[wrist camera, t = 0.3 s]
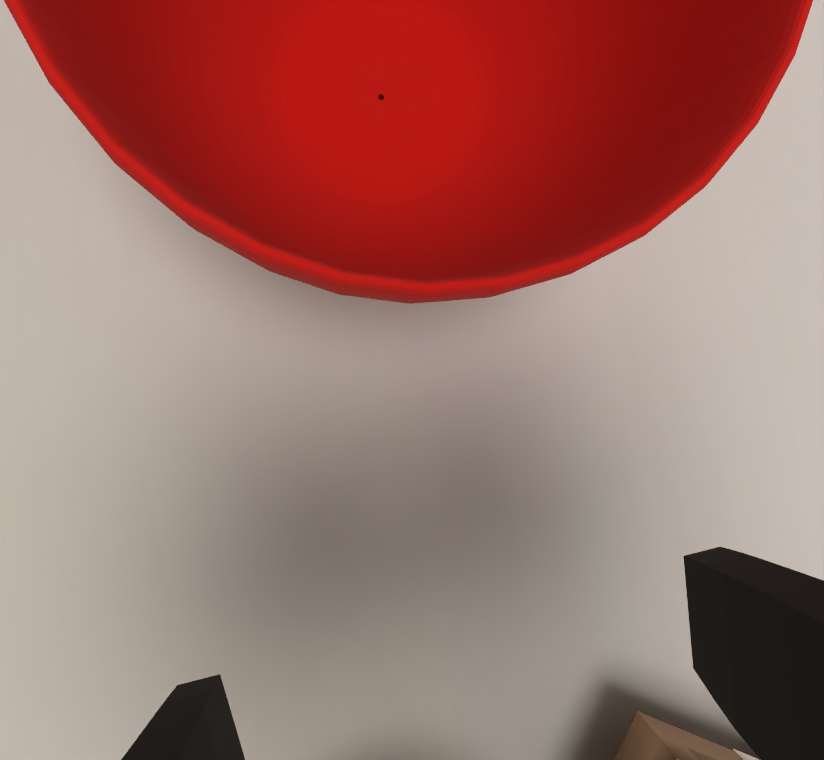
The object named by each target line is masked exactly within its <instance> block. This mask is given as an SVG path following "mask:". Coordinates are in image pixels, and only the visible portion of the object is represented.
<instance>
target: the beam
mask: <svg viewBox="0 0 824 760" xmlns="http://www.w3.org/2000/svg"><path fill="white" fill-rule="evenodd" d="M614 760H759V759H757V758H755V757H752V756H750V755H747V754H745V753H743V752H740V751H738V750H735V749H733V750H730V749H728V748H726V747H723V746H721V745H718V744H716V743H714V742H711V741H709V740H706V739H704V738H701V737H699V736H697V735H694V734H692V733H689V732H687V731H685V730H682V729H680V728H677V727H675V726H672V725H670V724H668V723H665V722H663V721H660V720H658V719H656V718H653V717H651V716H648V715H646V714H643V713H641V712H639V711H637V713H636V715H635V717H634V719H633V721H632V723H631V725H630V727H629V730H628V732H627V734H626V736H625V738H624V740H623V742H622V744H621V746H620V749H619V751H618V753H617V755H616V757H615V759H614Z"/></svg>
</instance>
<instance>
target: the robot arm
mask: <svg viewBox="0 0 824 760" xmlns="http://www.w3.org/2000/svg"><path fill="white" fill-rule="evenodd" d="M684 565H685V577H686V588H687V599H688V611H689V622H690V634H691V645H692V657H693V668H694V670H695V671H696V673H697V674H698V676H699V677H700V679H701V680H702V682H703V683H704V685H705V686H706V688H707V689H708V691H709V692H710V694H711V695H712V697H713V698H714V700H715V701H716V703H717V704H718V706H719V707H720V708H721V710H722V711H723V713H724V714H725V716H726V717H727V718H728V720H729V721H730V723H731V724H732V725H733V727H734V728H735V730H736V731H737V732H738V733H739V734H740V736H741V737H742V738H743V739H744V740H745V741H746V743H747V744H748V745H749V746H750V747H751V749H752V750H753V751H754V752H755V753H756V754H757V755H758V757H759V758H760V759H761V760H824V581H823V580H820V579H817V578H814V577H811V576H809V575H806V574H803V573H800V572H797V571H794V570H791V569H789V568H786V567H783V566H780V565H777V564H774V563H771V562H768V561H765V560H762V559H759V558H756V557H753V556H750V555H747V554H744V553H740V552H737V551H734V550H730V549H726V548H722V547H717V548H713V549H710V550H706V551H702V552H698V553H694V554H690V555H686V556H684ZM122 760H245V758H244V755H243V751H242V748H241V744H240V741H239V738H238V734H237V731H236V727H235V724H234V721H233V717H232V714H231V710H230V707H229V704H228V700H227V697H226V693H225V690H224V686H223V683H222V680H221V676H220V675H216V676H212V677H208V678H204V679H200V680H196V681H192V682H189V683H185V684H181V685H177V686H176V688H175V689H174V690H173V692H172V693H171V694H170V695H169V697H168V698H167V699H166V700H165V702H164V703H163V704H162V706H161V707H160V708H159V710H158V711H157V712H156V714H155V715H154V717H153V718H152V719H151V721H150V722H149V723H148V725H147V726H146V727H145V729H144V730H143V731H142V733H141V734H140V735H139V737H138V738H137V740H136V741H135V742H134V744H133V745H132V746H131V748H130V749H129V750H128V752H127V753H126V754H125V756H124V757H123V758H122Z"/></svg>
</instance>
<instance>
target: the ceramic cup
mask: <svg viewBox="0 0 824 760" xmlns="http://www.w3.org/2000/svg"><path fill="white" fill-rule="evenodd" d="M4 1H5V3H6V5H7V7H8V8H9V10H10V12H11V14H12V16H13V18H14V19H15V21H16V23H17V25H18V27H19V29H20V30H21V32H22V34H23V36H24V38H25V39H26V41H27V43H28V45H29V47H30V49H31V50H32V52H33V54H34V56H35V58H36V60H37V61H38V63H39V65H40V67H41V69H42V71H43V72H44V74H45V76H46V78H47V80H48V81H49V83H50V84H51V86H52V87H53V88H54V89H55V91H56V92H57V93H58V94H59V95H60V97H61V98H62V99H63V100H64V102H65V103H66V104H67V105H68V106H69V108H70V109H71V110H72V111H73V113H74V114H75V115H76V116H77V117H78V119H79V120H80V121H81V122H82V124H83V125H84V126H85V127H86V128H87V130H88V131H89V132H90V133H91V135H92V136H93V137H94V138H95V139H96V141H97V142H98V143H99V144H100V146H101V147H102V148H103V149H104V151H105V152H106V153H107V154H108V155H109V157H110V158H111V159H112V160H113V161H114V163H115V164H116V165H117V166H119V167H120V168H121V169H122V170H123V171H125V172H126V173H127V174H128V175H129V176H131V177H132V178H133V179H134V180H135V181H137V182H138V183H139V184H140V185H141V186H143V187H144V188H145V189H146V190H147V191H149V192H150V193H151V194H152V195H153V196H155V197H156V198H157V199H158V200H159V201H161V202H162V203H163V204H164V205H165V206H167V207H168V208H169V209H170V210H171V211H173V212H174V213H175V214H176V215H177V216H179V217H180V218H181V219H182V220H183V221H185V222H186V223H187V224H188V225H189V226H191V227H192V228H194V229H195V230H197V231H199V232H200V233H202V234H204V235H206V236H207V237H209V238H211V239H213V240H215V241H216V242H218V243H220V244H222V245H224V246H225V247H227V248H229V249H231V250H233V251H234V252H236V253H238V254H240V255H242V256H243V257H245V258H247V259H249V260H251V261H252V262H254V263H256V264H258V265H260V266H261V267H263V268H265V269H267V270H269V271H271V272H274V273H277V274H280V275H283V276H286V277H289V278H292V279H295V280H298V281H301V282H304V283H307V284H310V285H313V286H316V287H319V288H322V289H325V290H328V291H331V292H334V293H337V294H340V295H348V296H356V297H364V298H371V299H379V300H387V301H395V302H403V303H422V302H435V301H448V300H461V299H474V298H485V297H492V296H495V295H499V294H502V293H506V292H509V291H513V290H516V289H520V288H523V287H527V286H530V285H534V284H537V283H541V282H544V281H548V280H551V279H555V278H558V277H562V276H565V275H568V274H571V273H573V272H575V271H577V270H579V269H581V268H583V267H585V266H587V265H589V264H591V263H593V262H595V261H596V260H598V259H600V258H602V257H604V256H606V255H608V254H610V253H612V252H614V251H616V250H618V249H620V248H622V247H624V246H625V245H627V244H629V243H631V242H633V241H635V240H637V239H639V238H641V237H643V236H644V235H646V234H647V233H648V232H650V231H651V230H652V229H653V228H655V227H656V226H657V225H658V224H660V223H661V222H662V221H663V220H664V219H666V218H667V217H668V216H669V215H671V214H672V213H673V212H674V211H676V210H677V209H678V208H679V207H681V206H682V205H683V204H684V203H686V202H687V201H688V200H689V199H691V198H692V197H693V196H694V195H696V194H697V193H698V192H699V191H701V190H702V189H703V188H704V187H705V186H706V185H707V184H708V183H709V182H710V181H711V179H712V178H713V177H714V176H715V175H716V173H717V172H718V171H719V170H720V169H721V167H722V166H723V165H724V164H725V162H726V161H727V160H728V159H729V158H730V156H731V155H732V154H733V153H734V152H735V150H736V149H737V148H738V147H739V145H740V144H741V143H742V142H743V141H744V139H745V138H746V137H747V136H748V135H749V133H750V132H751V131H752V130H753V128H754V127H755V126H756V125H757V124H758V122H759V120H760V118H761V116H762V114H763V113H764V111H765V109H766V107H767V105H768V103H769V102H770V100H771V98H772V96H773V94H774V92H775V91H776V89H777V87H778V85H779V83H780V81H781V80H782V78H783V76H784V74H785V72H786V70H787V69H788V67H789V65H790V63H791V61H792V59H793V58H794V56H795V53H796V50H797V47H798V44H799V41H800V38H801V35H802V32H803V29H804V26H805V23H806V20H807V17H808V14H809V11H810V8H811V5H812V2H813V0H4Z"/></svg>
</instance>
